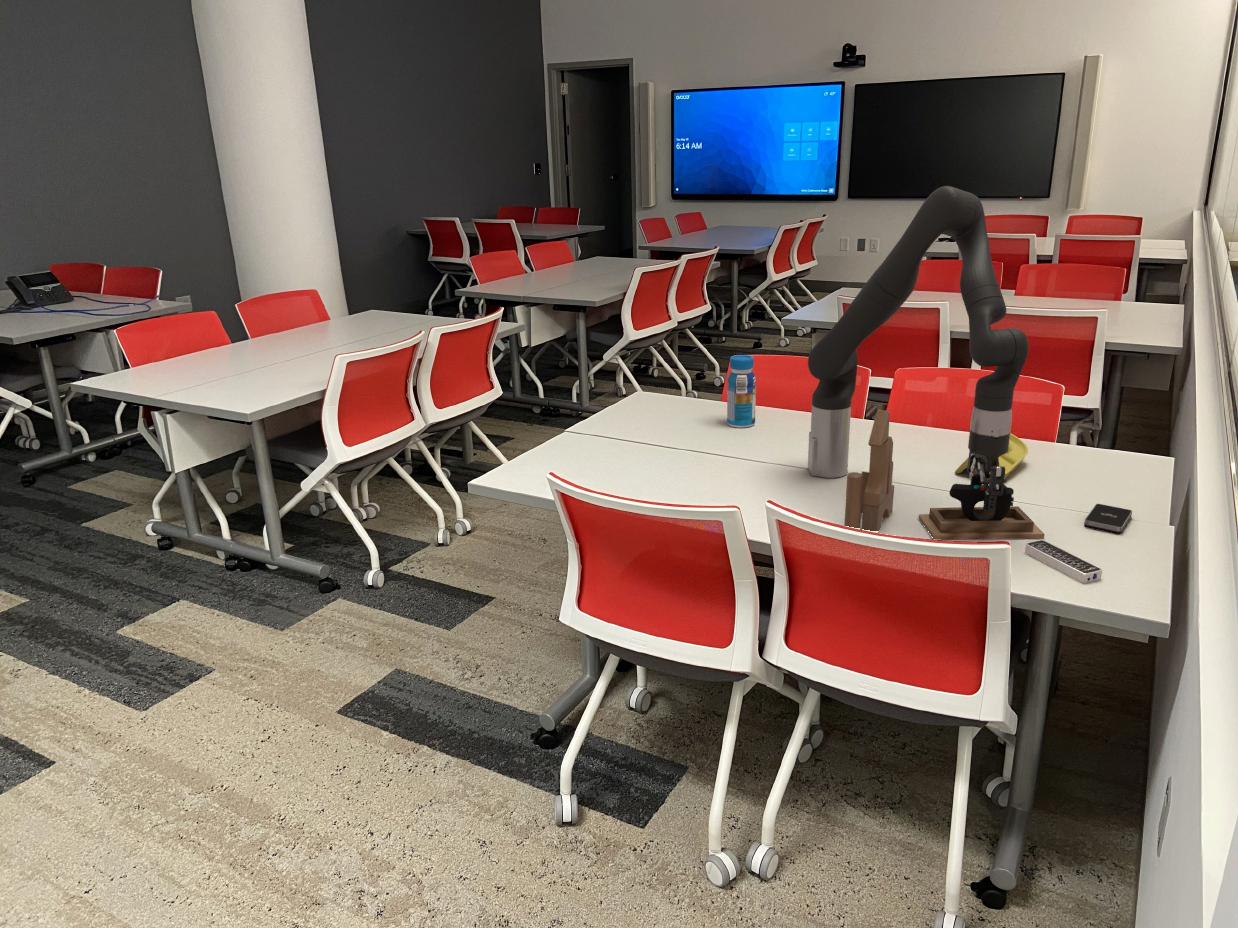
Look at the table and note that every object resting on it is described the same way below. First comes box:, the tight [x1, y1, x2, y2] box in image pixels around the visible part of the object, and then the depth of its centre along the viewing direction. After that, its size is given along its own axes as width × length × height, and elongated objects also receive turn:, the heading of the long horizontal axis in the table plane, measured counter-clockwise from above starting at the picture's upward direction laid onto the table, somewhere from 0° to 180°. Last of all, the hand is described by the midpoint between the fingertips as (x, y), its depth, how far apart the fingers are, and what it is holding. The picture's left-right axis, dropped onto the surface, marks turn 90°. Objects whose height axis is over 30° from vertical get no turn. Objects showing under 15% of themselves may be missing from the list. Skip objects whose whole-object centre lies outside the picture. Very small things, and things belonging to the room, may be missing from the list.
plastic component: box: [955, 432, 1029, 479], centre depth 216 cm, size 20×7×10 cm
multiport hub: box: [1024, 539, 1103, 584], centre depth 167 cm, size 4×14×2 cm, turn 20°
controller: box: [949, 478, 1015, 521], centre depth 182 cm, size 4×12×10 cm, turn 67°
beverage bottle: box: [726, 354, 757, 429], centre depth 254 cm, size 8×8×20 cm
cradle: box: [918, 505, 1045, 541], centre depth 183 cm, size 22×11×3 cm, turn 87°
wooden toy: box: [844, 409, 895, 532], centre depth 185 cm, size 16×7×25 cm, turn 150°
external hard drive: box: [1083, 503, 1133, 535], centre depth 184 cm, size 7×11×2 cm, turn 141°
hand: (981, 503), depth 182 cm, fingers open, 8 cm apart
